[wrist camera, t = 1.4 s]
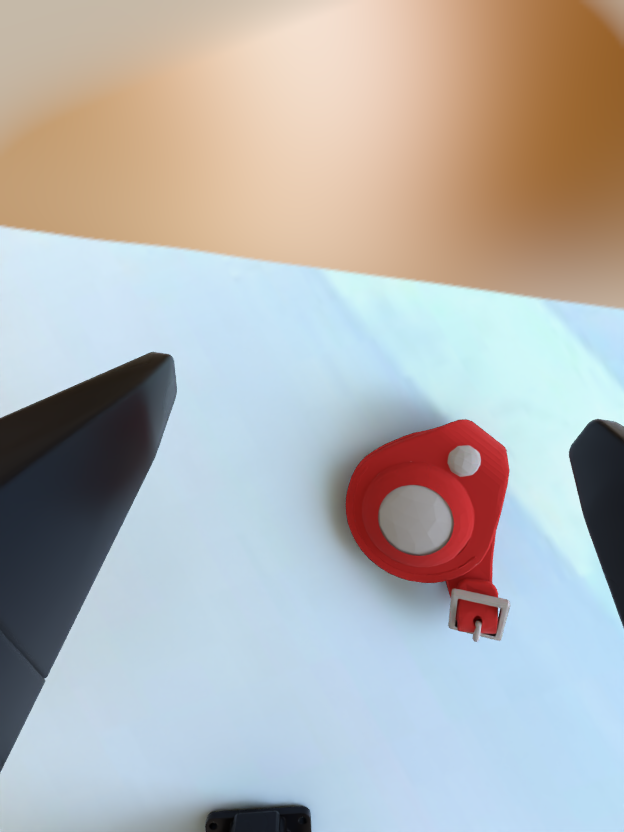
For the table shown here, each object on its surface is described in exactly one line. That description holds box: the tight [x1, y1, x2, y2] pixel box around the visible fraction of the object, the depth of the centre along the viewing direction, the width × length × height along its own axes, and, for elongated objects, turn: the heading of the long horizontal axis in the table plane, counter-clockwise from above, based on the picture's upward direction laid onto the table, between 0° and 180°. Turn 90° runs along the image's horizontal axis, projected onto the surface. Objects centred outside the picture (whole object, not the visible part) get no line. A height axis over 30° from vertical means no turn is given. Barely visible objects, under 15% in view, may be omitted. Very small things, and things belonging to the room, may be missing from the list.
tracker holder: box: [346, 420, 510, 642], centre depth 22 cm, size 12×4×10 cm
